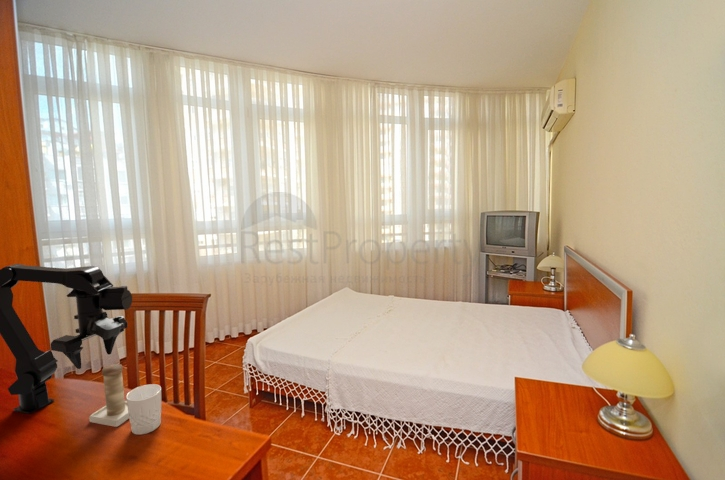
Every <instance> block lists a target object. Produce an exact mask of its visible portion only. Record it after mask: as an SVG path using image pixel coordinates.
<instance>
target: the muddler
mask: <svg viewBox="0 0 725 480" xmlns="http://www.w3.org/2000/svg"><path fill="white" fill-rule="evenodd" d="M101 375H102V376H103V384H104V385H103V387H104V395H105V396H104V397H105V406H106V409H107V415H108V416H115V415H118V414H121V413H122V412H124V410H125V401H126V400H125V392H124V379H123V365H122V364H120V363H119V364H118V363H115V364H109V365H108V366H106V367H103V368H102V370H101Z"/></svg>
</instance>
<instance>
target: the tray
mask: <svg viewBox="0 0 725 480" xmlns="http://www.w3.org/2000/svg"><path fill="white" fill-rule="evenodd" d="M88 417H89V422H90V423H93V424H94V423H95V424H99V425H105V426H109V427H110V426H111V427H115V428H117V427H119V426H120V425H122V424H123V423H125V422H126V421H127V420H128V419H129V414H128V406H127V400H125V410H124V412H122V413H121V414H118V415H115V416H108V415H107V409H106V405H104V406H103V407H101V408H99V409H98V410H97V411H95V412H92V414H90V415H89V416H88ZM129 420H130V419H129Z"/></svg>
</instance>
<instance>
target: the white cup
mask: <svg viewBox="0 0 725 480" xmlns="http://www.w3.org/2000/svg"><path fill="white" fill-rule="evenodd" d="M125 398H126V401H127V406H128V414H129V422H130V427H131V429H130V431H131V432H132V434H134V435H141V436H142V435H146V434H149V433H151V432H153V431H155V430H157V429H158V428H159V426H160V425H161V424H162V421H161V420H162V387H161V385H159V384H156V383H152V384H151V383H150V384H144V385H140V386H137V387H135V388H133V389H132V390H130V391H129V392H128V393H127V394H126V396H125Z"/></svg>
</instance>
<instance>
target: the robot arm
mask: <svg viewBox="0 0 725 480" xmlns="http://www.w3.org/2000/svg"><path fill="white" fill-rule="evenodd" d="M19 282H31V283H32V282H33V283H45V284H46V283H47V284H58V285H62V286H64V287H65V288H69V289H72V290H71V291H70V292H69V293H68V294H67V295H66V297H67V298H75V303H76V311H77V314H74V316H73V317H74V318H73V320H77V321H78V328H76V329H75V333H76V334H78V335H68V334H65V335H63V336H61V337H58V338H57V337H56V338H54V339H52V341H51V342H50V350H47V351H44V350H41V349H39V348H38V346H37V345H36V343H35V342H34V340H33V338H32V336H31V335H30V333H29V331H28V330H27V328H26V326H25V325H24V323H23V322H22V320H21V318H20V317H19V315H18V313H17V312H16V310H15V308H14V307H13V301H14V293H13V290H12V288H14V287H15V286H16V285H17V284H19ZM132 304H133V294H132V293H131V291H130V290H129V289H128V286H127V285H122V286H114V285H113V284H112V282H111V281H110V280H109V279H108V278H107V277H106V276H105V275H104V273H103V271H102V270H101V269H100V267H98V266H95V265H94V266H93V265H91V266H90V265H89V266H79V267H77V266H76V267H70V268H63V267H62V268H61V267H51V266H49V267H48V266H40V265H39V266H38V265H28V264H27V265H25V264H20V263H16V264H12V265H7V266H3V267H2V268H0V336H1V338H2V339H3V341H4V342H5V344H6V346H7V347H8V349H9V350H10V352H11V354H12V355H13V357H14V359H15V366H14V367H15V368H14V373H15V375H16V378H17V379H16V380H15V381H14V382H13V383H12V384H11V385H9V387H8V388H7V390H8V392H9V394H10V396H15V395H16V396H17V395H18V403H19V405H18V406H17V407H15V408H13V411H14V412H18V413H24V414H29V415H30V414H33V413H35V412H36V411H38V410H41V409H43V408H44V407H46V406H48V405H50V404H51V403H53V402H55V399H53V398H50V397H49V393H48V388H47V386H48V385H47V384H46V382H47V381H49V380H51V379H52V378H53V374H55V372H56V371H57V369H58V360H57V358H55V356H54V355H53V354H54V353H53V352H60V353H63V355H64V356H66V357H67V359H69V361H70V362H71V363H72V365H73V366H74V367H75V368H76V370H81V369H82V357H81V351H82V350H83V349H84V347H83V346H82V345H83V341H85V340H88V339H90V338H93V337H95V336H98V337H100V338H101V339H102V340H103V345H104V349H105V352H106V355H111V354H112V351H113V349H114V347H115V343H116V340H117V337H118V336H119V335H120V334H122V333H123V332H124V331H125V329H127V328H128V327H129V326H128V321H127V320H126V319H125V316H123V315H119V316H115V317H112V318H111V317H110V318H109V317H108V313H107V311H122V310H123V311H124V310H129V309H130V308H131V307H132V306H131V305H132Z"/></svg>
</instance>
